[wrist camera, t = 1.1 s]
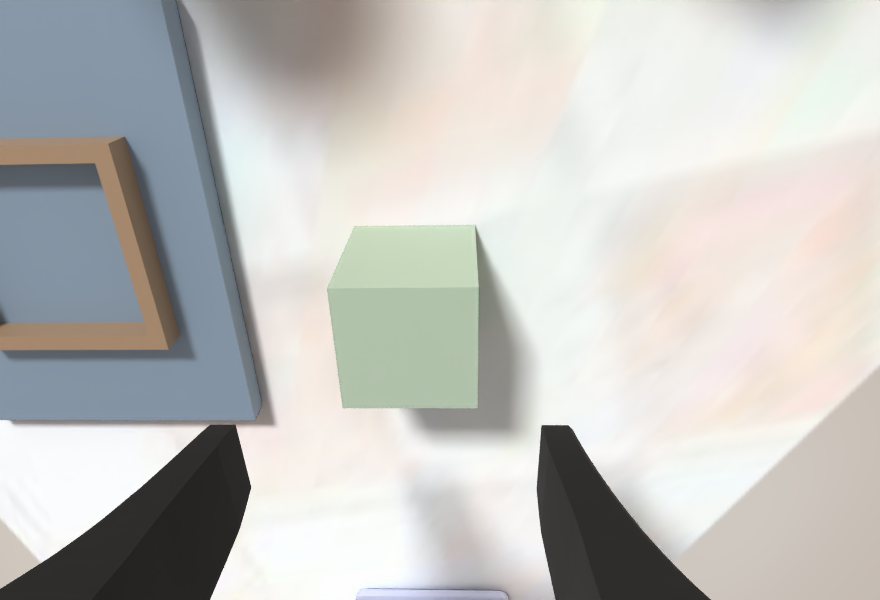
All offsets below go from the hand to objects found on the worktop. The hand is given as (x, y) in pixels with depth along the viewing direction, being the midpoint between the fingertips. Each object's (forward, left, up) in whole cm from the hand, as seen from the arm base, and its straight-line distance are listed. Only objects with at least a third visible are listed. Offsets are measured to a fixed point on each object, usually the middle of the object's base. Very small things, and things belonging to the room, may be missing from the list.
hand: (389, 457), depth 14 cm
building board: (+2, +13, -10) cm, 16 cm away
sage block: (0, 0, -10) cm, 10 cm away
